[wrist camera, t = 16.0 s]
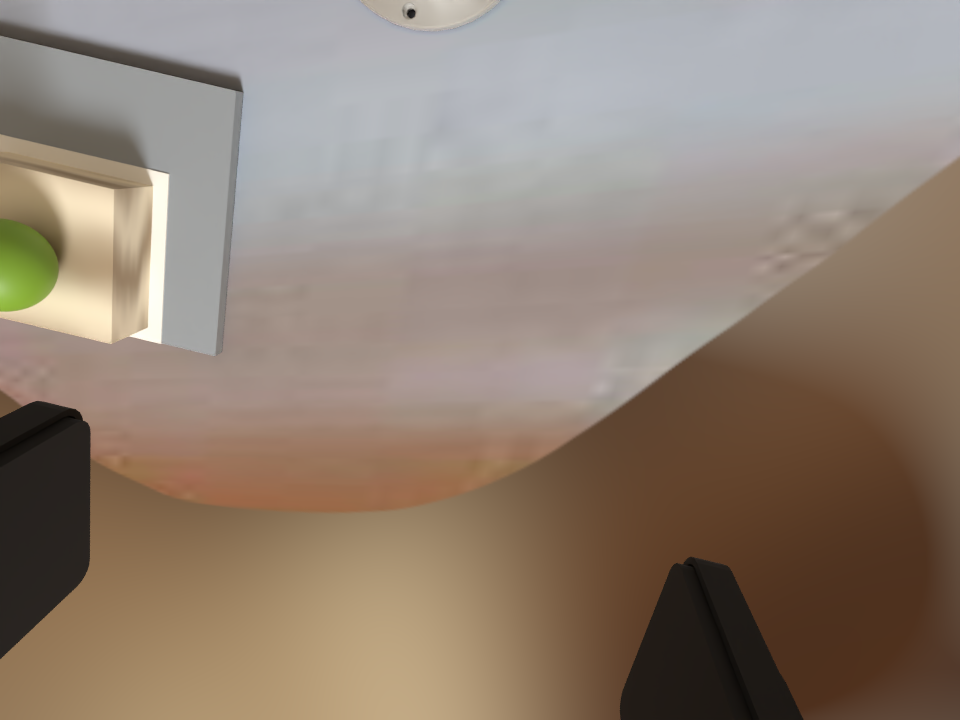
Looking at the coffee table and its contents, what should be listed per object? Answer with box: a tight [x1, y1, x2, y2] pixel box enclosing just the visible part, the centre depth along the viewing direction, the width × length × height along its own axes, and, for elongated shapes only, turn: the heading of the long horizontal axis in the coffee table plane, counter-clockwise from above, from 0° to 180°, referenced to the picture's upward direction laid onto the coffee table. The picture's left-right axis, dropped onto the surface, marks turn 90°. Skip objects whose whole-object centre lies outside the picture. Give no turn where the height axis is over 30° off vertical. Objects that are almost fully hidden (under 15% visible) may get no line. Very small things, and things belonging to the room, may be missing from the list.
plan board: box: [0, 36, 243, 356], centre depth 42 cm, size 18×18×1 cm
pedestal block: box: [0, 152, 153, 344], centre depth 40 cm, size 10×10×4 cm
